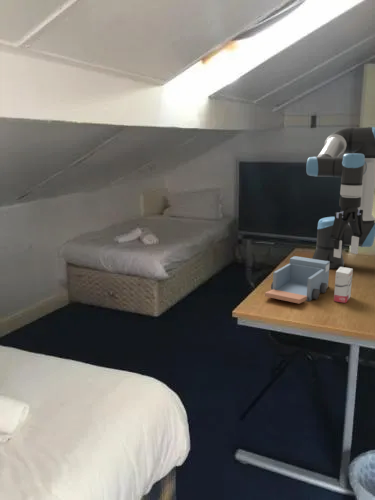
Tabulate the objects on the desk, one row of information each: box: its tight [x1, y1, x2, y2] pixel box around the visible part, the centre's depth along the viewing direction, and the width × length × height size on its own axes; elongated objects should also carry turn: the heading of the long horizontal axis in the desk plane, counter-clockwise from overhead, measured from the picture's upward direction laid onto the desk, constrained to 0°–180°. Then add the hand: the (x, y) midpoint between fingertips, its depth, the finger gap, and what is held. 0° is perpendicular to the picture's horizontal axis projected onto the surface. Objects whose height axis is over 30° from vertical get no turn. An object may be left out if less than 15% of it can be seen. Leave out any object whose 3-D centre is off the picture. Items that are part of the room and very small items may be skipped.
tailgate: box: [264, 289, 307, 305], centre depth 180 cm, size 2×14×8 cm
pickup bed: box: [270, 255, 330, 302], centre depth 192 cm, size 21×19×11 cm
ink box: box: [333, 266, 354, 304], centre depth 182 cm, size 9×5×12 cm, turn 150°
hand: (345, 255), depth 179 cm, fingers open, 9 cm apart
